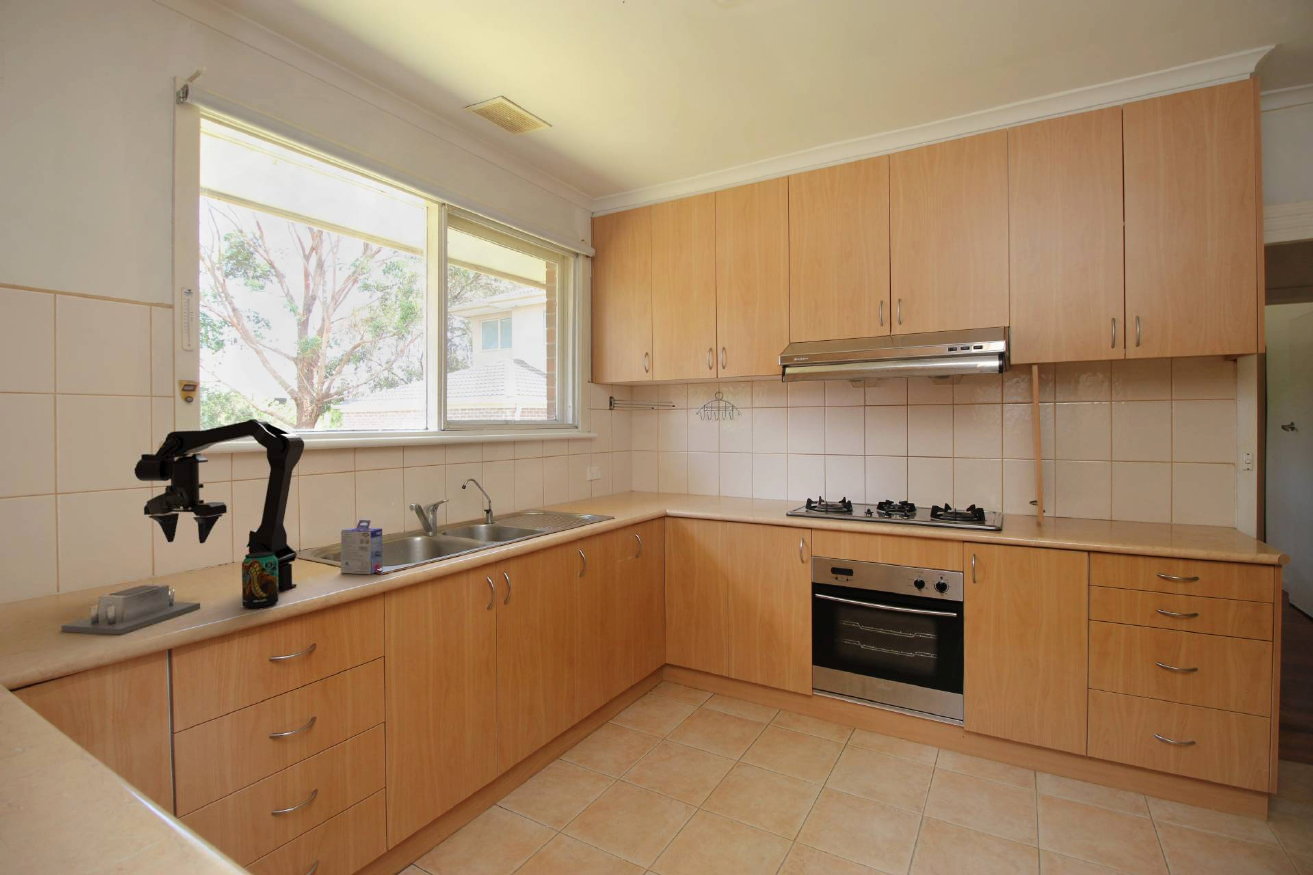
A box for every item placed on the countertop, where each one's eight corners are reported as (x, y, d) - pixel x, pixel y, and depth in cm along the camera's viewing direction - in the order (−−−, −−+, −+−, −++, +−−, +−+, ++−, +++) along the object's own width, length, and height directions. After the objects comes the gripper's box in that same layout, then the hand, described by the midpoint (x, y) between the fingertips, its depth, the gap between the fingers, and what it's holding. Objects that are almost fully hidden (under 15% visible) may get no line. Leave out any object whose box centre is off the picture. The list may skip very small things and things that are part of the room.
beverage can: (240, 611, 139) (239, 558, 138) (244, 603, 145) (243, 552, 144) (277, 607, 142) (276, 555, 141) (279, 599, 148) (278, 549, 148)
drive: (169, 607, 138) (168, 584, 138) (123, 621, 128) (122, 597, 128) (146, 606, 139) (146, 583, 139) (99, 620, 129) (98, 595, 129)
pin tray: (200, 608, 141) (199, 587, 141) (120, 634, 123) (119, 611, 123) (147, 605, 143) (147, 585, 143) (61, 631, 126) (60, 608, 126)
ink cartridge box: (384, 570, 177) (383, 520, 177) (371, 575, 172) (370, 523, 171) (353, 568, 179) (352, 519, 179) (340, 573, 174) (339, 522, 173)
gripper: (121, 483, 150) (122, 547, 150) (188, 484, 147) (189, 550, 147) (164, 479, 161) (166, 539, 161) (227, 480, 158) (229, 541, 158)
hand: (186, 542), depth 156 cm, fingers open, 9 cm apart
